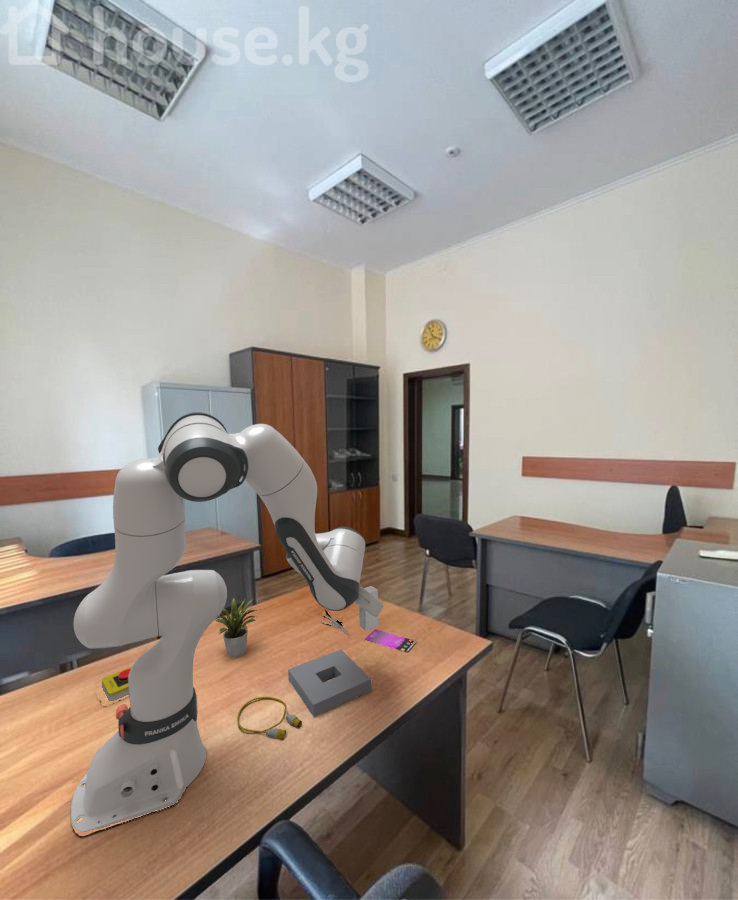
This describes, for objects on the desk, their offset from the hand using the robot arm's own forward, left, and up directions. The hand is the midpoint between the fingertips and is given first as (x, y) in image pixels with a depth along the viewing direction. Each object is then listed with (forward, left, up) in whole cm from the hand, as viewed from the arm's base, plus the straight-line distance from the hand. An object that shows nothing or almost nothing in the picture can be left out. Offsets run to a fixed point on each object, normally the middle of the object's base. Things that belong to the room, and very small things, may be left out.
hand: (370, 606), depth 104 cm
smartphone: (+14, +11, -20) cm, 27 cm away
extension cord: (-29, +1, -20) cm, 35 cm away
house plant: (-28, +31, -19) cm, 46 cm away
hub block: (-11, +3, -19) cm, 23 cm away
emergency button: (-55, +33, -20) cm, 67 cm away
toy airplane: (+5, +32, -20) cm, 38 cm away
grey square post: (-1, 0, -5) cm, 5 cm away
